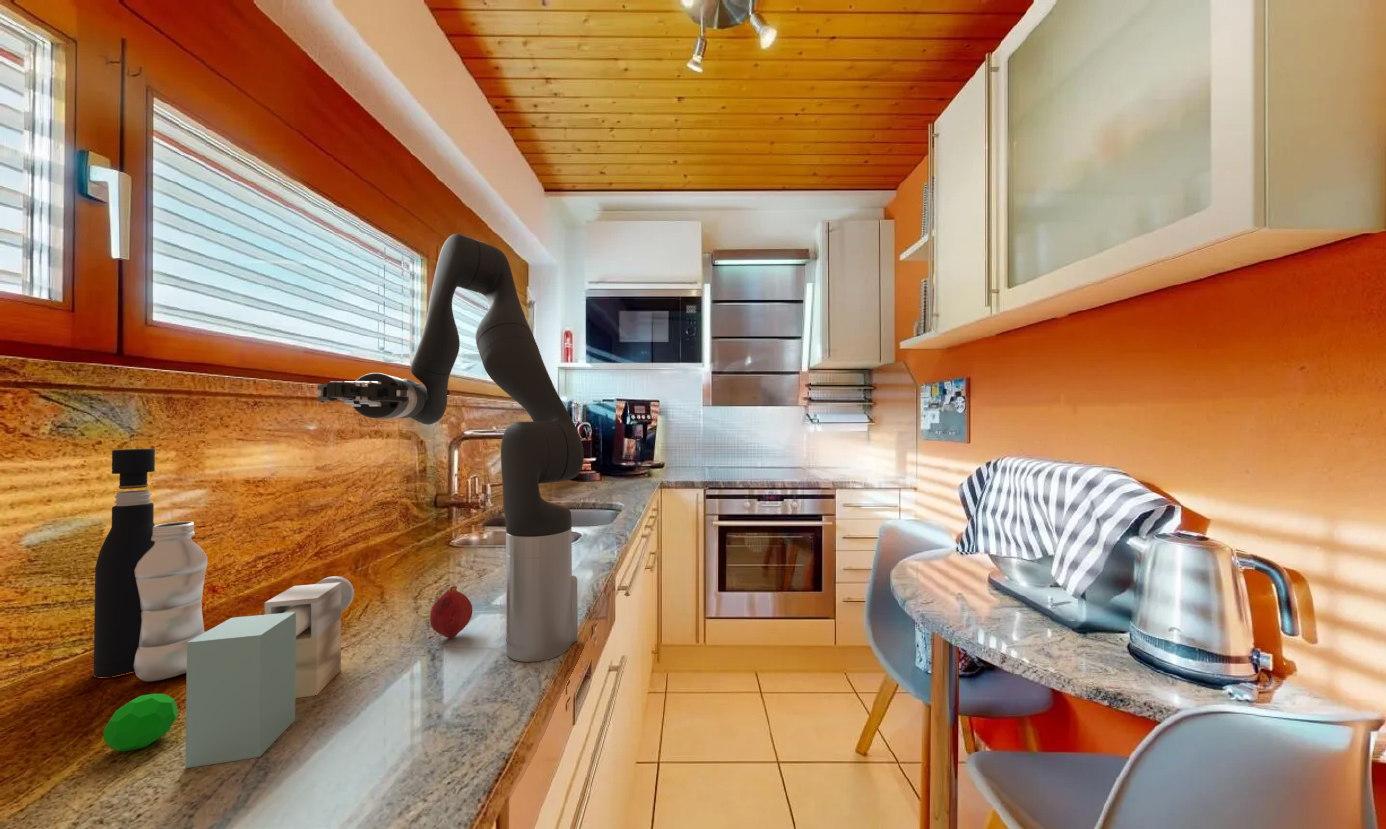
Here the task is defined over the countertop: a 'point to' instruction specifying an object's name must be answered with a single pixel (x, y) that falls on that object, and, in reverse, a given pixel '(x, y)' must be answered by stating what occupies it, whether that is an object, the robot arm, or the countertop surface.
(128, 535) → the wine bottle
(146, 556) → the plastic bottle
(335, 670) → the sleeve stand
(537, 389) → the robot arm
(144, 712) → the polyhedron
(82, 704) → the countertop surface
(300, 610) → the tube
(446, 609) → the onion
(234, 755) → the socket
